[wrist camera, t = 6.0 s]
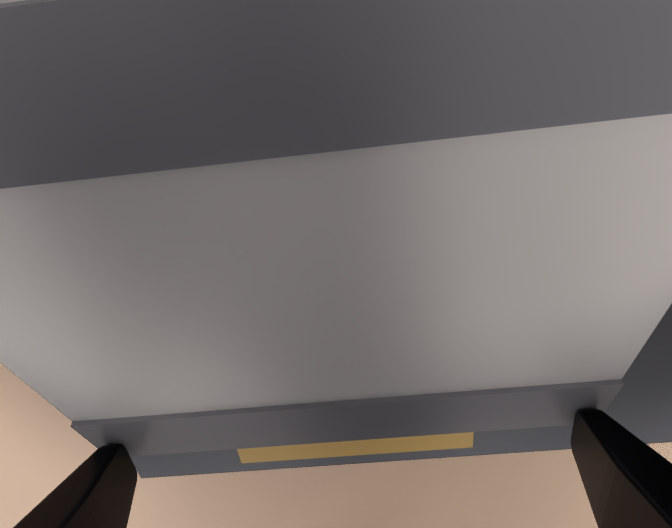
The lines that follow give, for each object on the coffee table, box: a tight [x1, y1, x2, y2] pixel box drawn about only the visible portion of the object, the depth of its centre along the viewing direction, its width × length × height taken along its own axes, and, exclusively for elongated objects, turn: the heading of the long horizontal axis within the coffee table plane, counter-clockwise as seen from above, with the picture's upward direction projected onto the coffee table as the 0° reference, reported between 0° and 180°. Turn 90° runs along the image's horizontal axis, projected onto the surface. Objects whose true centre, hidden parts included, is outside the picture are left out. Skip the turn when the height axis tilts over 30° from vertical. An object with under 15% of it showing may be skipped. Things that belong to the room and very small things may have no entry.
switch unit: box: [131, 304, 672, 478], centre depth 9 cm, size 15×24×4 cm, turn 97°
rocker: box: [0, 0, 672, 457], centre depth 7 cm, size 9×10×2 cm
